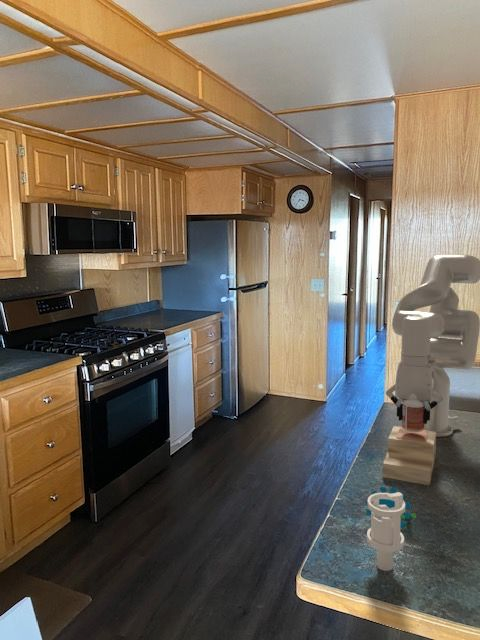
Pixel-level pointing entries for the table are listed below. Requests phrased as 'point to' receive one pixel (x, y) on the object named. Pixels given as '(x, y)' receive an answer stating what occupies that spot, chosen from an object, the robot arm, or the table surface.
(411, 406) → the pill bottle
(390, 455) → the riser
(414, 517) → the gear
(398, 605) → the table surface
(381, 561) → the white flanged pipe fitting
